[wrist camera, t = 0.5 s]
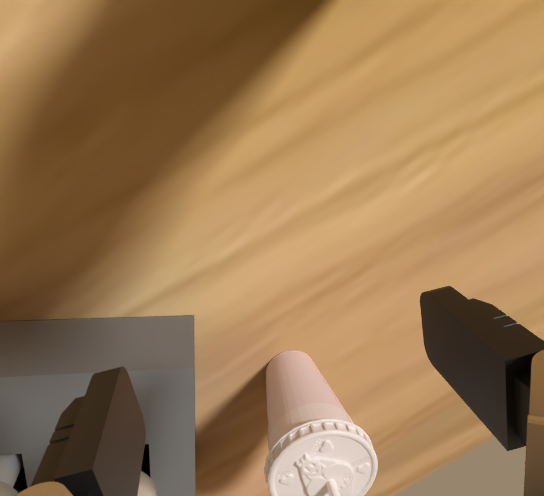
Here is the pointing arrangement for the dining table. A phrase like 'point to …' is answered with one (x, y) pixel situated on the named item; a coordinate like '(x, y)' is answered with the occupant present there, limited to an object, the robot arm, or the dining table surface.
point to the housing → (76, 377)
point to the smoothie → (312, 435)
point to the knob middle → (9, 473)
